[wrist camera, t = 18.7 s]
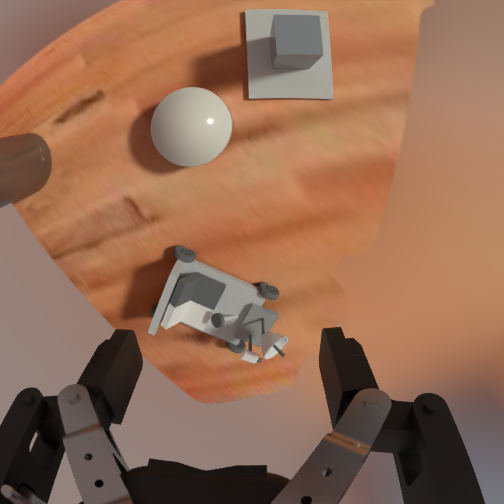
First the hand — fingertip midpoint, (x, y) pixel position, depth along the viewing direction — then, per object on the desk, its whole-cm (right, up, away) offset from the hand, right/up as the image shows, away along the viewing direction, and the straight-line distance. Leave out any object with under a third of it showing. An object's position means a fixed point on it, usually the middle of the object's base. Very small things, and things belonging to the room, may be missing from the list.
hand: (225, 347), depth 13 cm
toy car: (-3, -3, +33) cm, 33 cm away
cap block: (+5, +27, +18) cm, 33 cm away
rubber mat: (+5, +28, +19) cm, 34 cm away
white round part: (-6, +19, +22) cm, 30 cm away
